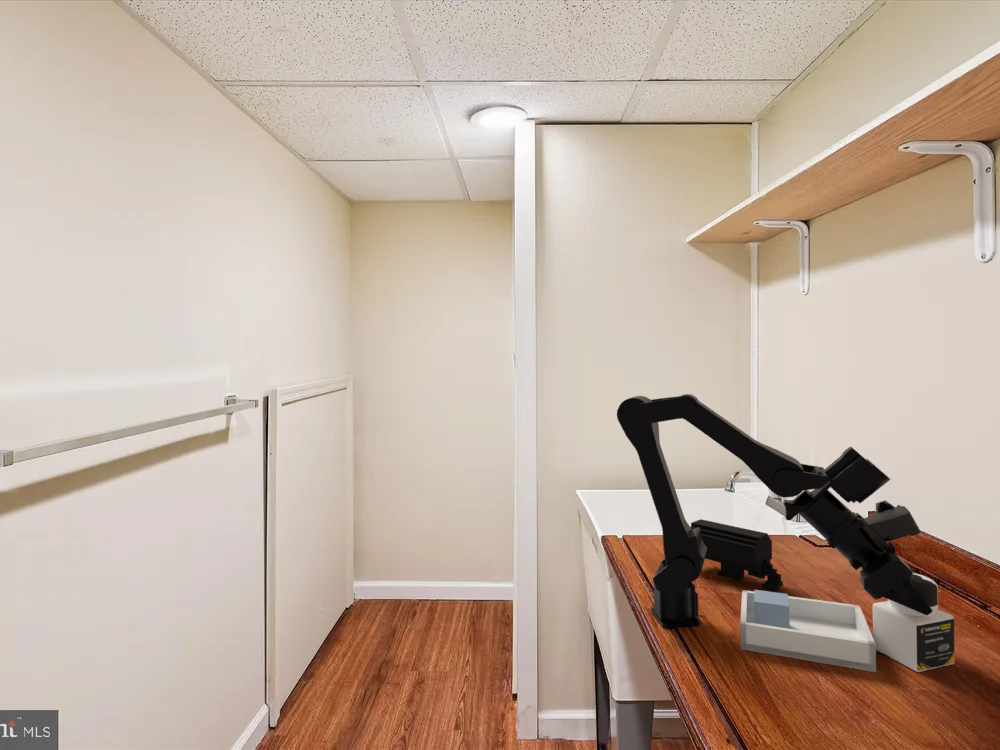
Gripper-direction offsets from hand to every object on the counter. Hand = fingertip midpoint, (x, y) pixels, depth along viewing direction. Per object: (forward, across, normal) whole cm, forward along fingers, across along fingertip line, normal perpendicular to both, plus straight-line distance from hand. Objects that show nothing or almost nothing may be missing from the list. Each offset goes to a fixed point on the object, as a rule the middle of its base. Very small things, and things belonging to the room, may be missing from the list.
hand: (923, 604), depth 82 cm
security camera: (-13, +23, +25) cm, 36 cm away
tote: (-6, 0, +17) cm, 18 cm away
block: (-9, 0, +19) cm, 21 cm away
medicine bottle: (+5, 0, +7) cm, 8 cm away
